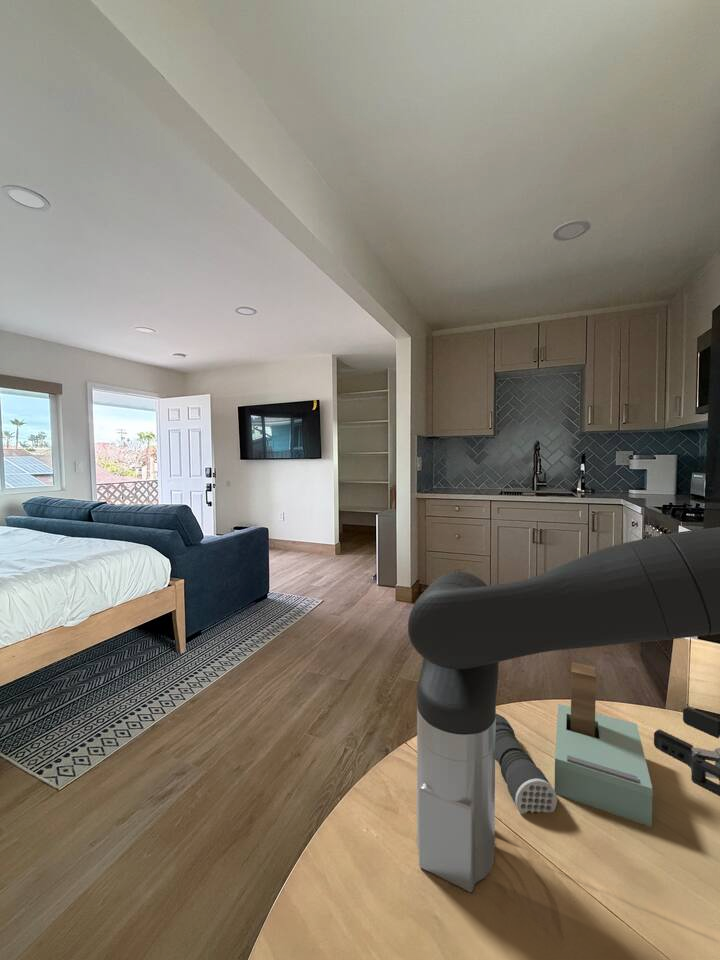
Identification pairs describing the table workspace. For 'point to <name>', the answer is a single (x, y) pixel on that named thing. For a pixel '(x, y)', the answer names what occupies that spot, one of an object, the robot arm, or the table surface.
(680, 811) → the table surface
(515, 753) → the flashlight
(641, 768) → the peg-in-hole base
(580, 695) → the wooden peg
